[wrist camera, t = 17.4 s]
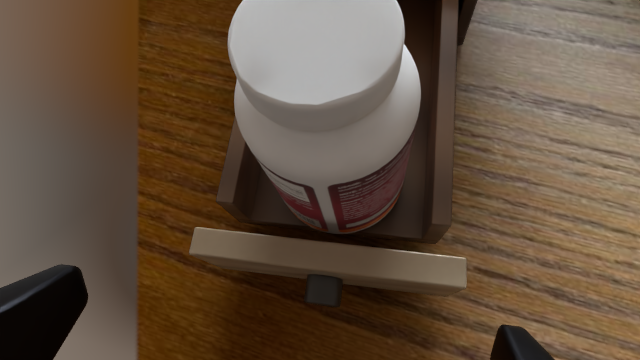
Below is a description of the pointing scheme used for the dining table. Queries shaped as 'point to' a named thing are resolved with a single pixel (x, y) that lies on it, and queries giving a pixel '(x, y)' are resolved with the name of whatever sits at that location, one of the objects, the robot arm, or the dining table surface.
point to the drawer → (399, 224)
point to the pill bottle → (327, 104)
